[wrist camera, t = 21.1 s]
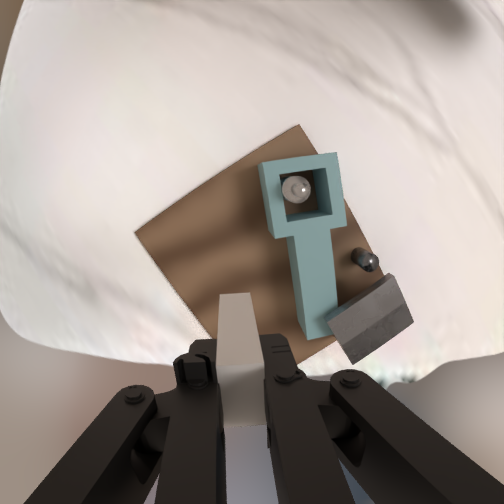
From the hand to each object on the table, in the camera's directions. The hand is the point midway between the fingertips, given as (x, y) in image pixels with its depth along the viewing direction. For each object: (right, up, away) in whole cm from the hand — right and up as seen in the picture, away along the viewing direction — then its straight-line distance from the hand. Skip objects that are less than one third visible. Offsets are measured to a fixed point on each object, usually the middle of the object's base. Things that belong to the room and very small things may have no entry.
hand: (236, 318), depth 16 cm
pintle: (+4, +10, +18) cm, 21 cm away
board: (+3, +2, +20) cm, 20 cm away
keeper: (+12, -1, +21) cm, 24 cm away
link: (+6, +4, +19) cm, 20 cm away
